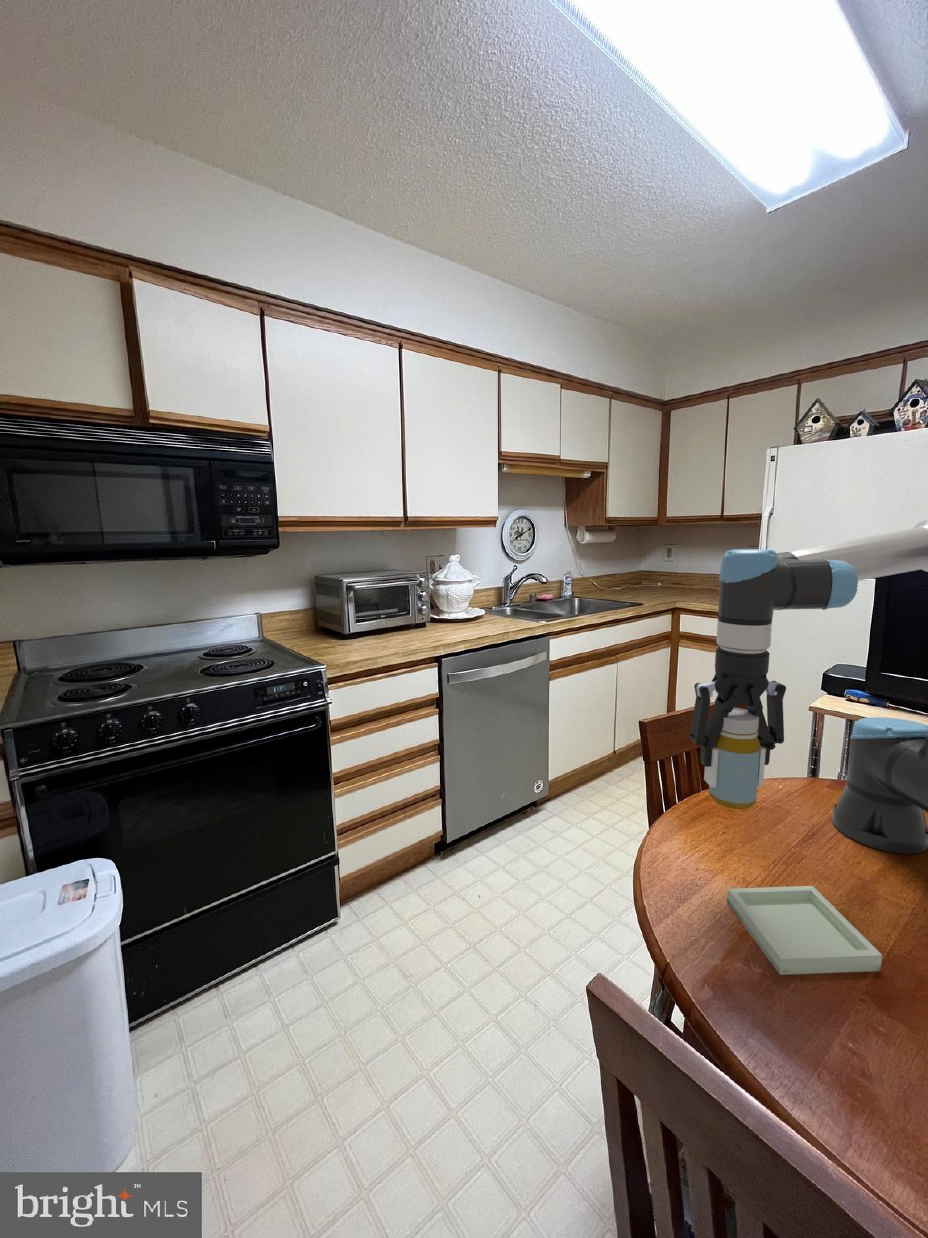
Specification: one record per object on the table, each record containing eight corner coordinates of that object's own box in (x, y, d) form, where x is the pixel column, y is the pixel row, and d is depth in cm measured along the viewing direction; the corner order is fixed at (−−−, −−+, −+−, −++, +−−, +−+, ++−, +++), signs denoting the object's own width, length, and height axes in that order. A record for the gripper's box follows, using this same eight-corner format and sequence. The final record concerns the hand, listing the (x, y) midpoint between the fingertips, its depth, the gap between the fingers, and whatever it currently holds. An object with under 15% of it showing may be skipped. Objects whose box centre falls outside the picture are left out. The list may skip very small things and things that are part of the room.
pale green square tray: (810, 899, 85) (812, 885, 85) (880, 971, 71) (882, 955, 71) (726, 902, 85) (727, 888, 84) (779, 975, 71) (781, 959, 71)
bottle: (762, 812, 82) (768, 723, 79) (714, 809, 84) (719, 721, 81) (748, 791, 89) (753, 707, 86) (704, 787, 90) (708, 705, 88)
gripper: (790, 641, 85) (779, 771, 89) (670, 644, 85) (664, 774, 89) (821, 651, 78) (807, 792, 82) (690, 655, 78) (682, 796, 82)
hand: (733, 782), depth 86 cm, fingers closed on bottle, 7 cm apart
